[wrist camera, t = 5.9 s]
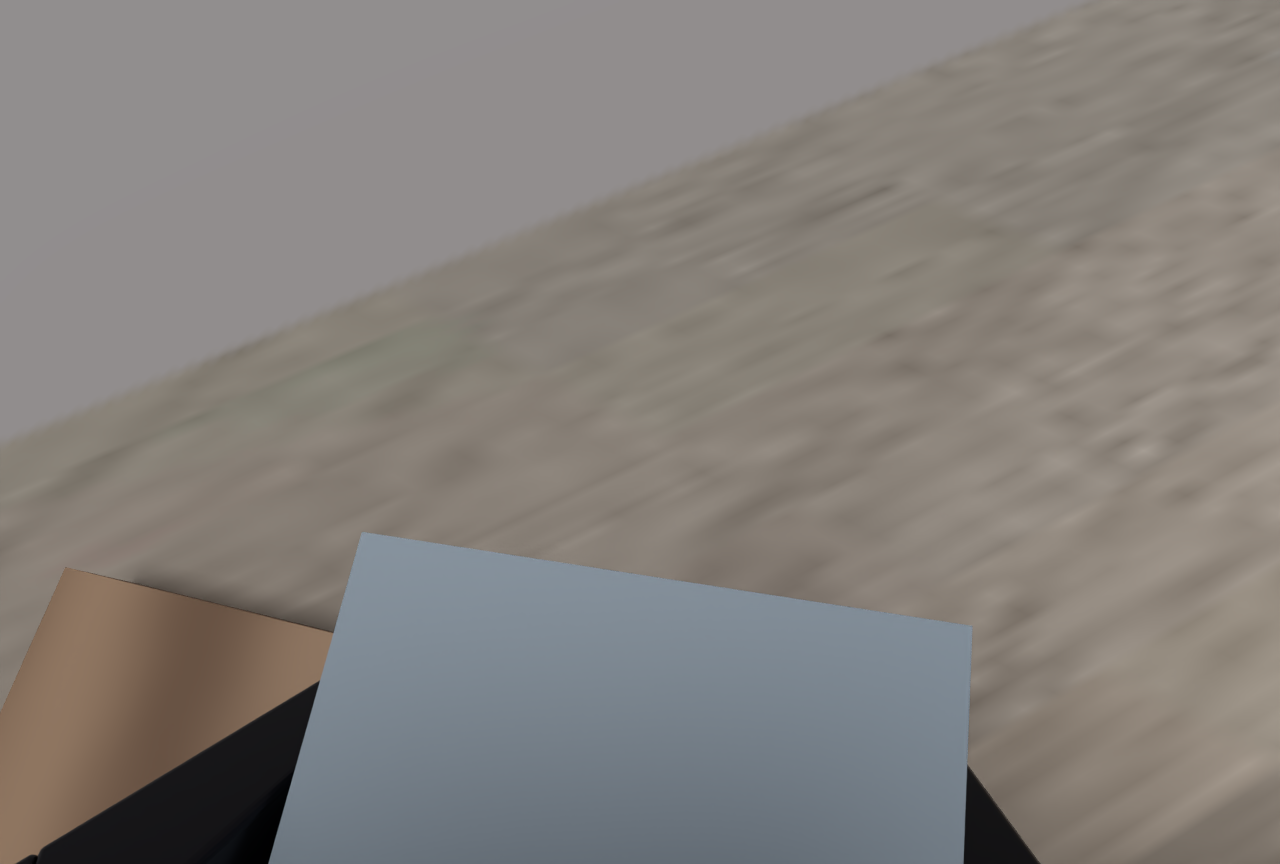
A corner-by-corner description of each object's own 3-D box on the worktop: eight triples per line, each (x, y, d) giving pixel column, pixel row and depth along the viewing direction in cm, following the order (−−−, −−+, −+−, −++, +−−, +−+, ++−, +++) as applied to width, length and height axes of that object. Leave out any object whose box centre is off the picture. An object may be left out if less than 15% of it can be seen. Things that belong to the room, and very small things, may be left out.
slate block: (830, 683, 15) (973, 626, 6) (800, 1005, 13) (940, 1511, 5) (560, 637, 15) (362, 531, 7) (501, 938, 14) (154, 1269, 5)
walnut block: (455, 662, 23) (417, 654, 20) (333, 1084, 20) (267, 1144, 17) (141, 585, 24) (65, 566, 22) (-16, 963, 21) (-130, 1000, 18)
